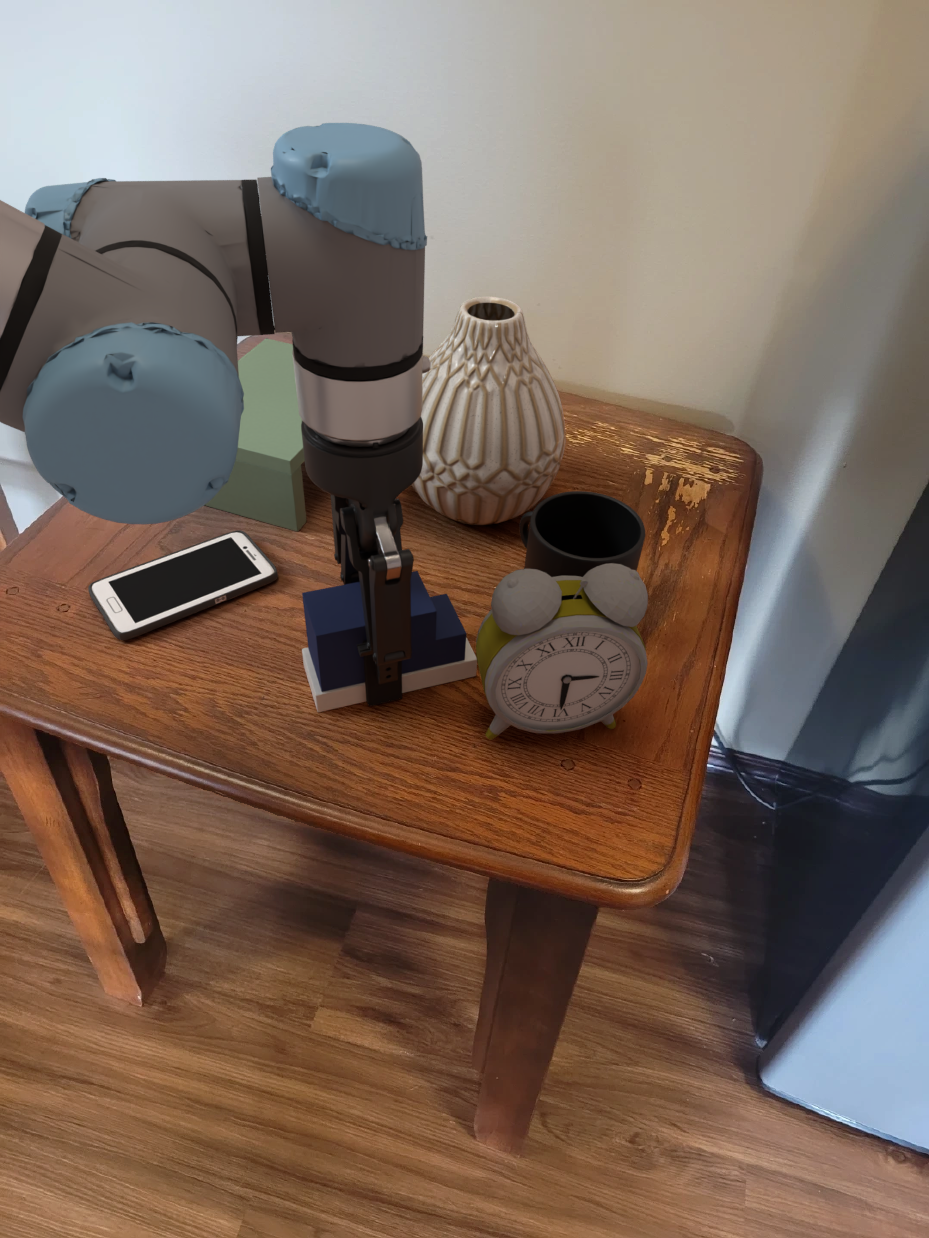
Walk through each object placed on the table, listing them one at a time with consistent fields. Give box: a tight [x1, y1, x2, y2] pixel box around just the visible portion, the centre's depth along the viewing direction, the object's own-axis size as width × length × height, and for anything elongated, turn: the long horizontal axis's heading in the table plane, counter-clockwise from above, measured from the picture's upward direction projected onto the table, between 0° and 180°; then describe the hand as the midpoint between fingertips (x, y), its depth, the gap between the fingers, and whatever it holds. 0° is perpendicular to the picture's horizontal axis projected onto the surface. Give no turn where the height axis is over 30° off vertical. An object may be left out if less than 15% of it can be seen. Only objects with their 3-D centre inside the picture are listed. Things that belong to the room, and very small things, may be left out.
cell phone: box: [87, 529, 279, 641], centre depth 74 cm, size 8×15×1 cm, turn 127°
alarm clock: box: [475, 563, 649, 741], centre depth 61 cm, size 12×7×15 cm, turn 99°
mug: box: [518, 490, 646, 577], centre depth 73 cm, size 9×12×9 cm
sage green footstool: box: [204, 338, 307, 532], centre depth 87 cm, size 14×20×8 cm
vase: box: [411, 295, 567, 526], centre depth 79 cm, size 16×16×20 cm
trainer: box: [301, 570, 478, 713], centre depth 66 cm, size 13×5×8 cm, turn 110°
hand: (374, 672), depth 68 cm, fingers closed on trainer, 5 cm apart
